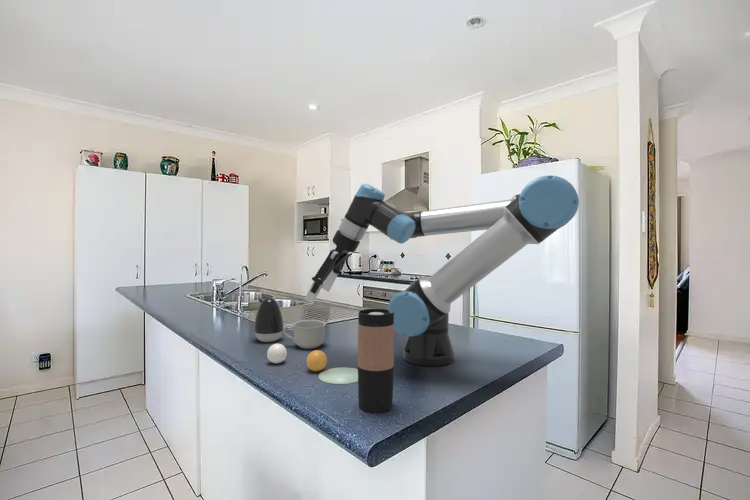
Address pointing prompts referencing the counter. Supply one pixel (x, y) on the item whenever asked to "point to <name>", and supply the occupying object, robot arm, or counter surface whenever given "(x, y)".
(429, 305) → the robot arm
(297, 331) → the teacup
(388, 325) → the travel mug
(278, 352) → the cue ball
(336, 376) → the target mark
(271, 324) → the black and grey ovoid
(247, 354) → the counter surface
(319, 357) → the orange ball
